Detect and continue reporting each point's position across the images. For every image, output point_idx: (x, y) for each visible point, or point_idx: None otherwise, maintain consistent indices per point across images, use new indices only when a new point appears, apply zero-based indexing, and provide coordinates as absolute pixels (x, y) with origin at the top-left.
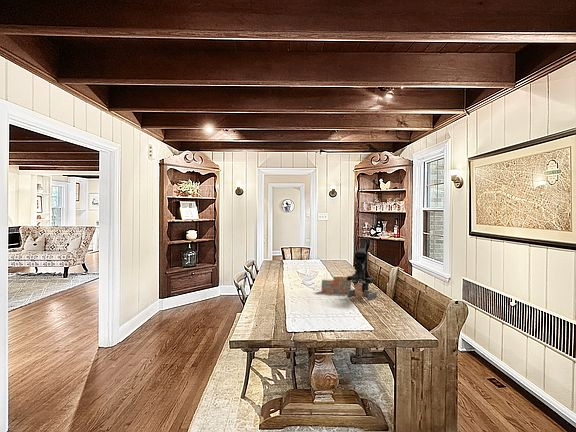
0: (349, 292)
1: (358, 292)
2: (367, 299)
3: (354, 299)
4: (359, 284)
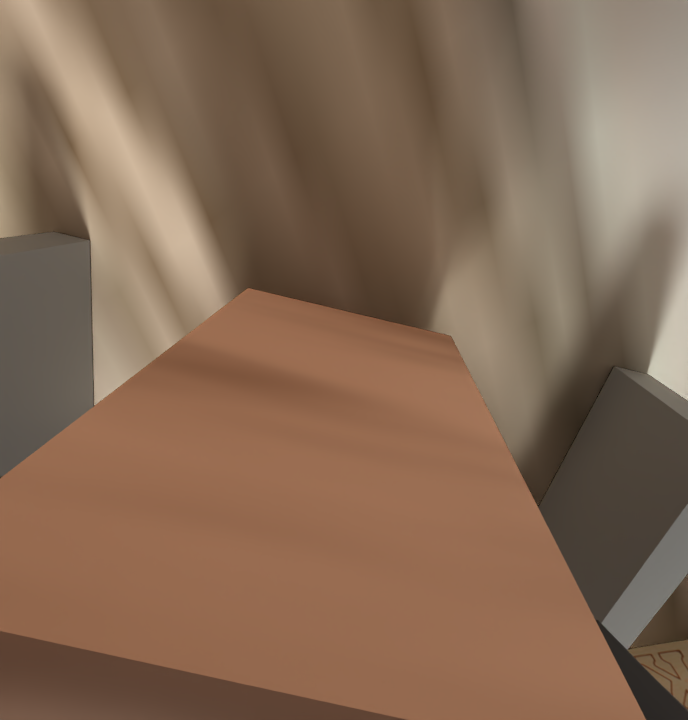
0: (663, 447)
1: (324, 342)
2: (86, 240)
3: (382, 50)
4: (128, 682)
